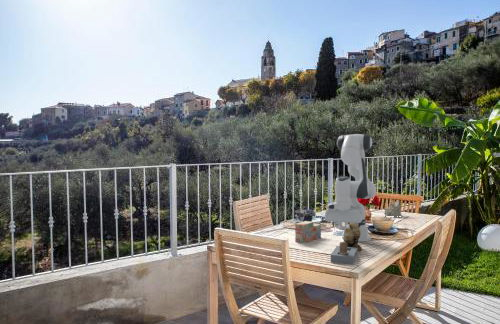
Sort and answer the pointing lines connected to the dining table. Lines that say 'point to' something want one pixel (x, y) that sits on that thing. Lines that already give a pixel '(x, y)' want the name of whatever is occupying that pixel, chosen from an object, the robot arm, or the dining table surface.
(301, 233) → the stack of blocks
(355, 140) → the robot arm
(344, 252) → the walnut peg
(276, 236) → the dining table surface
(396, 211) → the ceramic cottage
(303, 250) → the dining table surface
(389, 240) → the dining table surface
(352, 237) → the beige rough lumpy piece
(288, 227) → the dining table surface
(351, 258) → the two-hole board
